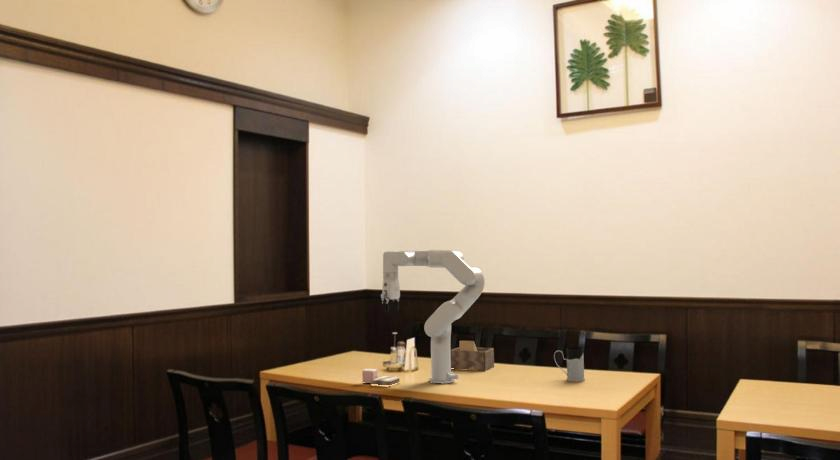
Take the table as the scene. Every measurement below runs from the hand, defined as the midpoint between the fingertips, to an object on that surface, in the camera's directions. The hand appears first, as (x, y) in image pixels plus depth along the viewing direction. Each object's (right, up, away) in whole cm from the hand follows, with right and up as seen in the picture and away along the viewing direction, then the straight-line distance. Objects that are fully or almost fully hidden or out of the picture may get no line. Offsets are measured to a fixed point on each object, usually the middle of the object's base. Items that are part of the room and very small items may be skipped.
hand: (390, 310), depth 331 cm
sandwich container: (+43, -34, +26) cm, 61 cm away
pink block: (-9, -33, -11) cm, 37 cm away
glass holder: (+86, -32, -13) cm, 93 cm away
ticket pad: (-2, -33, -15) cm, 37 cm away
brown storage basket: (+43, -34, +26) cm, 60 cm away
